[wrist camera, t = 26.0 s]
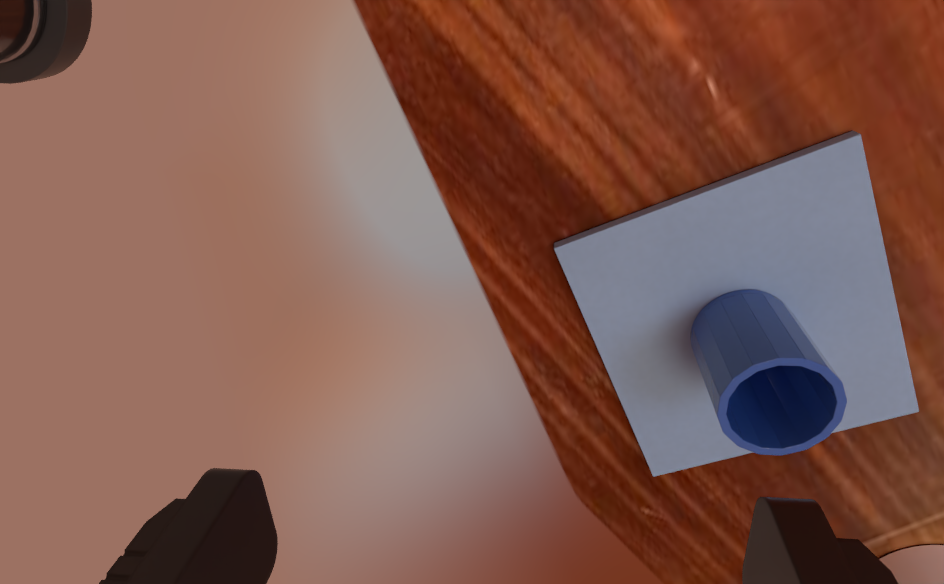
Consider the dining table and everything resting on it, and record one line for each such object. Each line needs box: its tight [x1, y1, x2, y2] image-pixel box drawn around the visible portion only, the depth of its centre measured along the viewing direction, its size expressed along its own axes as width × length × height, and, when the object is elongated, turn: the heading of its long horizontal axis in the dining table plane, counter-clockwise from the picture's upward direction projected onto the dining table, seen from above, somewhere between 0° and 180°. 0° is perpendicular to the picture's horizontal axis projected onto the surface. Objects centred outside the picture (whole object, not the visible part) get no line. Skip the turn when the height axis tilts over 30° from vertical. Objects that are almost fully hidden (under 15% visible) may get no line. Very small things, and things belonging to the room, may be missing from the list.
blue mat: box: [554, 131, 919, 477], centre depth 40 cm, size 18×20×1 cm
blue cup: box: [690, 290, 847, 455], centre depth 36 cm, size 6×6×8 cm
